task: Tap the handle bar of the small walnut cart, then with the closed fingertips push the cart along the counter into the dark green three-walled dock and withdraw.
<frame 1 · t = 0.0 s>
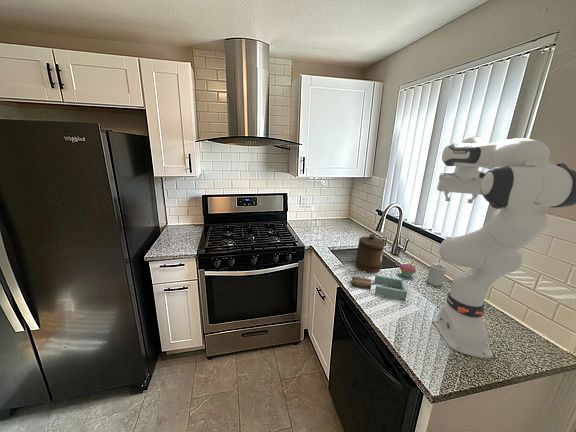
hand: (458, 202, 115), 48 cm above the counter, fingers open, 8 cm apart
cupcake: (406, 276, 140), on the counter
trolley: (360, 285, 128), on the counter
wooden container: (367, 267, 148), on the counter
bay: (387, 290, 124), on the counter
can: (434, 283, 134), on the counter
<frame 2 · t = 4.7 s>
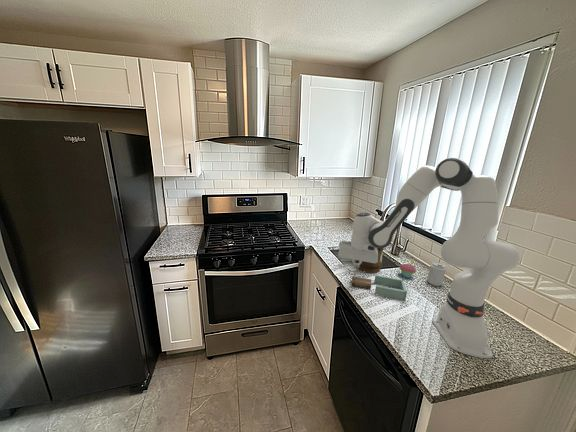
hand: (356, 266, 127), 10 cm above the counter, fingers closed
nothing on the counter moved.
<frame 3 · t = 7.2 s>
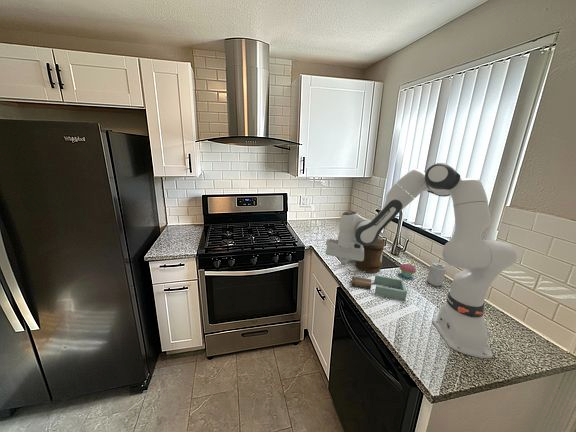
hand: (343, 264, 129), 10 cm above the counter, fingers closed
nothing on the counter moved.
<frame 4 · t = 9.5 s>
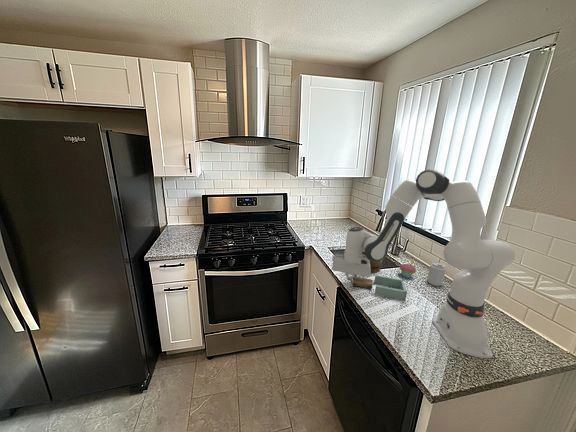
hand: (349, 280, 129), 2 cm above the counter, fingers closed
trolley: (361, 285, 128), on the counter, touching gripper
everything else where it was.
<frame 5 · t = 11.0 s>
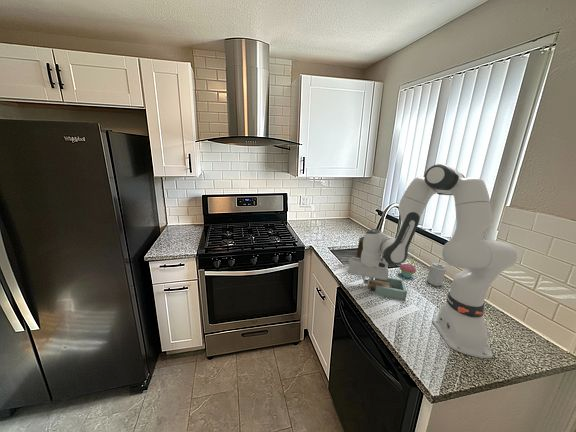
hand: (366, 283, 127), 2 cm above the counter, fingers closed
trolley: (378, 288, 126), on the counter, touching gripper
everything else where it was.
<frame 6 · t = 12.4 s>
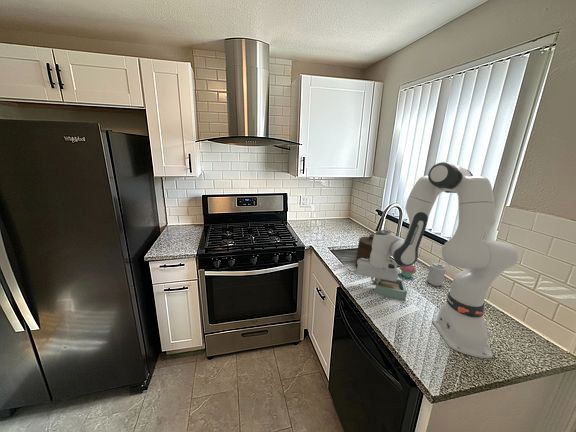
hand: (374, 284, 126), 2 cm above the counter, fingers closed
trolley: (387, 290, 124), on the counter, touching gripper
everything else where it was.
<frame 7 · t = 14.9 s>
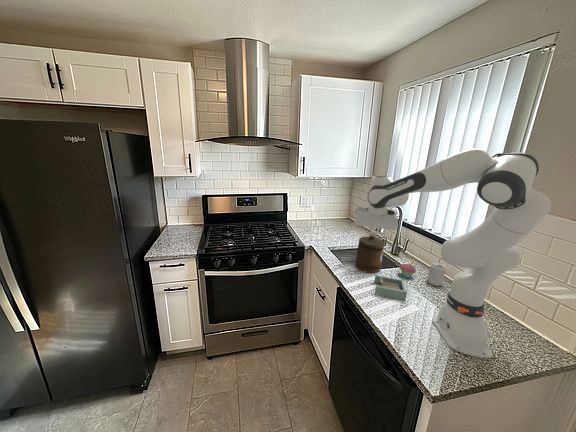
hand: (373, 235, 120), 29 cm above the counter, fingers closed
trolley: (387, 290, 124), on the counter
everything else where it was.
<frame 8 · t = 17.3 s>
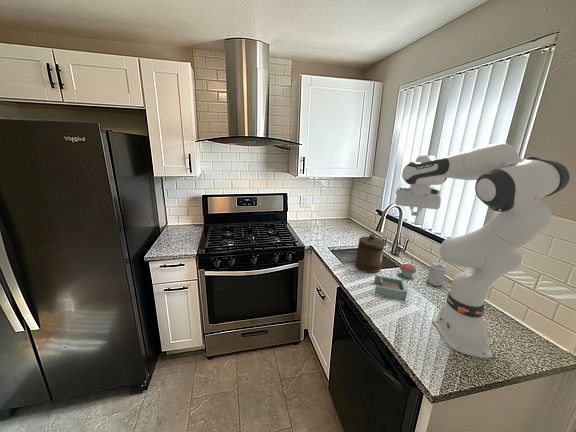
hand: (414, 215, 122), 39 cm above the counter, fingers closed
nothing on the counter moved.
at the end: trolley 0.2 cm off-centre on the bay, point 0.0 cm above the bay's base; trolley tilted 0° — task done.
